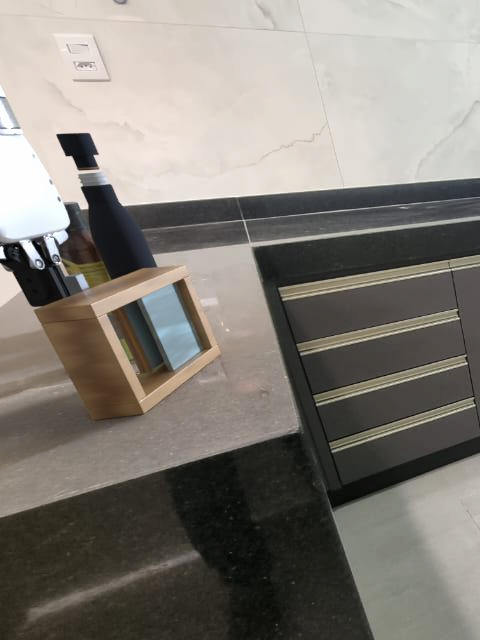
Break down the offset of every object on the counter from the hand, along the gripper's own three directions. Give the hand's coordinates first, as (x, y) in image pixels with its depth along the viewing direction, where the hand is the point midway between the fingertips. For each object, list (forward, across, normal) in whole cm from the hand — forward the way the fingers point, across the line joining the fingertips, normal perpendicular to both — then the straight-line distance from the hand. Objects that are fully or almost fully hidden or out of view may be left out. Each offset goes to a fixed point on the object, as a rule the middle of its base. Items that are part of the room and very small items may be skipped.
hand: (54, 303), depth 58 cm
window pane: (+11, -7, +2) cm, 13 cm away
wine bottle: (+13, -38, -14) cm, 43 cm away
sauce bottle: (+13, -40, -21) cm, 47 cm away
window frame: (+12, -4, +4) cm, 14 cm away
